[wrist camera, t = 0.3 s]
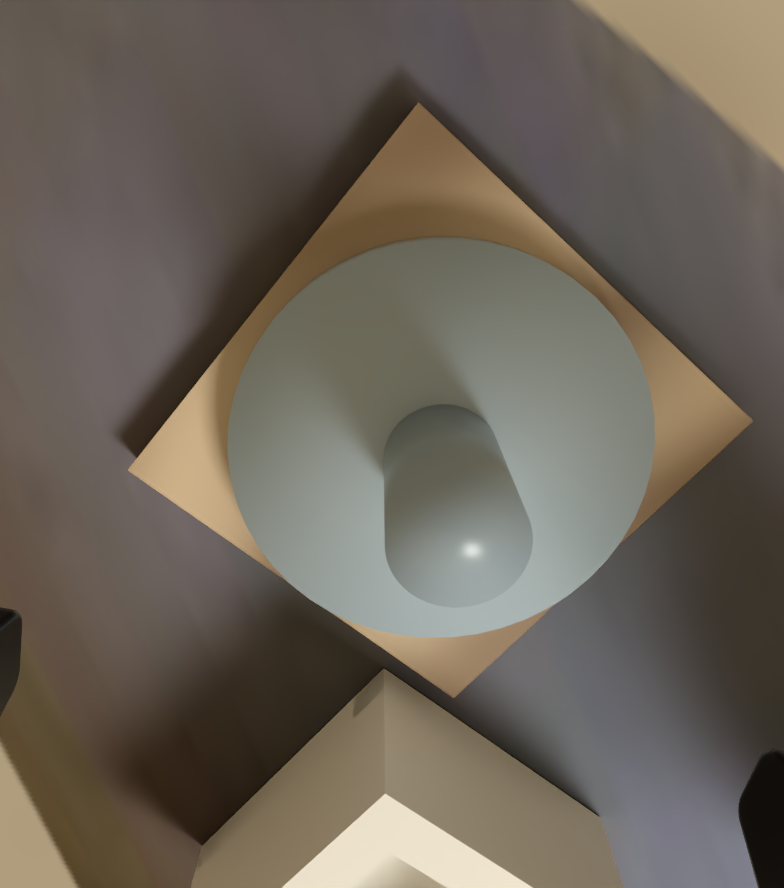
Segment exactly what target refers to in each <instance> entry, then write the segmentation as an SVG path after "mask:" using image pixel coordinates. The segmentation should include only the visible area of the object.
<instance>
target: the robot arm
mask: <svg viewBox="0 0 784 888" xmlns="http://www.w3.org/2000/svg"><path fill="white" fill-rule="evenodd" d="M21 635H22V619H21V615H20V614H19V613H18V612H17V611H16V610H12V609H7V608H1V607H0V716H1V714H2V712H3V710H4V708H5V706H6V704H7V702H8V700H9V699H10V697H11V695H12V693H13V691H14V688H15V686H16V683H17V680H18V676H19V670H20V653H21ZM738 811H739V820H740V824H741V828H742V831H743V835H744V838H745V842H746V846H747V849H748V853H749V857H750V860H751V864H752V867H753V871H754V875H755V878H756V882H757V886H758V888H784V751H781V750H776V749H771V750H767V751H766V752H764V753H763V754H762V755H761V757H760V759H759V761H758V763H757V765H756V767H755V769H754V771H753V773H752V775H751V777H750V779H749V781H748V783H747V785H746V787H745V789H744V791H743V793H742V795H741V797H740V801H739V810H738Z"/></svg>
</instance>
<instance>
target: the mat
mask: <svg viewBox="0 0 784 888" xmlns="http://www.w3.org/2000/svg"><path fill="white" fill-rule="evenodd" d="M425 236H461V237H469V238H477V239H485V240H489V241H493V242H496V243H500V244H504V245H508V246H512V247H514V248H517V249H519V250H522V251H524V252H526V253H529V254H531V255H533V256H536V257H538V258H540V259H542V260H544V261H545V262H547V263H549V264H550V265H552V266H554V267H555V268H557V269H559V270H560V271H562V272H564V273H565V274H567V275H568V276H570V277H572V278H573V279H574V280H576V281H577V282H578V283H579V284H580V285H582V286H583V287H584V288H585V289H587V290H588V291H589V292H590V293H592V294H593V295H594V296H595V297H596V298H597V299H598V300H599V301H600V302H601V303H602V304H603V305H604V306H605V308H606V309H607V310H608V311H609V312H610V313H611V314H612V315H613V316H614V317H615V319H616V320H617V322H618V323H619V325H620V326H621V328H622V329H623V331H624V332H625V333H626V335H627V336H628V338H629V339H630V341H631V343H632V345H633V347H634V349H635V351H636V353H637V355H638V357H639V359H640V362H641V364H642V366H643V369H644V372H645V376H646V379H647V382H648V385H649V388H650V392H651V398H652V405H653V411H654V419H655V446H654V454H653V462H652V469H651V473H650V477H649V481H648V484H647V488H646V492H645V495H644V497H643V500H642V502H641V505H640V507H639V509H638V512H637V514H636V517H635V519H634V520H633V522H632V524H631V526H630V527H629V529H628V531H627V533H626V534H625V536H624V538H623V540H622V541H621V542H620V543H619V545H620V544H621V543H622V542H623V541H624V540H625V539H626V538H627V537H628V536H630V535H631V534H632V533H633V532H634V531H635V530H636V529H637V528H638V527H639V526H640V525H641V524H643V523H644V522H645V521H646V520H647V519H648V518H649V517H650V516H651V515H652V514H653V513H654V512H655V511H657V510H658V509H659V508H660V507H661V506H662V505H663V504H664V503H665V502H666V501H667V500H668V499H670V498H671V497H672V496H673V495H674V494H675V493H676V492H677V491H678V490H679V489H680V488H681V487H682V486H684V485H685V484H686V483H687V482H688V481H689V480H690V479H691V478H692V477H693V476H694V475H695V474H697V473H698V472H699V471H700V470H701V469H702V468H703V467H704V466H705V465H706V464H707V463H708V462H710V461H711V460H712V459H713V458H714V457H715V456H716V455H717V454H718V453H719V452H720V451H721V450H722V449H724V448H725V447H726V446H727V445H728V444H729V443H730V442H731V441H732V440H733V439H734V438H735V437H737V436H738V435H739V434H740V433H741V432H742V431H743V430H744V429H745V428H746V427H747V426H748V425H749V424H751V423H752V422H753V420H752V419H751V418H750V417H749V416H748V415H747V414H746V413H744V412H743V411H742V410H741V409H740V408H739V407H738V406H737V405H736V404H735V403H734V402H733V401H732V400H731V399H730V398H729V397H728V396H727V395H726V394H725V393H723V392H722V391H721V390H720V389H719V388H718V387H717V386H716V385H715V384H714V383H713V382H712V381H711V380H710V379H709V378H708V377H707V376H706V375H705V374H703V373H702V372H701V371H700V370H699V369H698V368H697V367H696V366H695V365H694V364H693V363H692V362H691V361H690V360H689V359H688V358H687V357H686V356H685V355H684V354H682V353H681V352H680V351H679V350H678V349H677V348H676V347H675V346H674V345H673V344H672V343H671V342H670V341H669V340H668V339H667V338H666V337H665V336H664V335H663V334H661V333H660V332H659V331H658V330H657V329H656V328H655V327H654V326H653V325H652V324H651V323H650V322H649V321H648V320H647V319H646V318H645V317H644V316H643V315H641V314H640V313H639V312H638V311H637V310H636V309H635V308H634V307H633V306H632V305H631V304H630V303H629V302H628V301H627V300H626V299H625V298H624V297H623V296H622V295H620V294H619V293H618V292H617V291H616V290H615V289H614V288H613V287H612V286H611V285H610V284H609V283H608V282H607V281H606V280H605V279H604V278H603V277H602V276H601V275H599V274H598V273H597V272H596V271H595V270H594V269H593V268H592V267H591V266H590V265H589V264H588V263H587V262H586V261H585V260H584V259H583V258H582V257H581V256H579V255H578V254H577V253H576V252H575V251H574V250H573V249H572V248H571V247H570V246H569V245H568V244H567V243H566V242H565V241H564V240H563V239H562V238H561V237H560V236H558V235H557V234H556V233H555V232H554V231H553V230H552V229H551V228H550V227H549V226H548V225H547V224H546V223H545V222H544V221H543V220H542V219H541V218H540V217H538V216H537V215H536V214H535V213H534V212H533V211H532V210H531V209H530V208H529V207H528V206H527V205H526V204H525V203H524V202H523V201H522V200H521V199H520V198H519V197H517V196H516V195H515V194H514V193H513V192H512V191H511V190H510V189H509V188H508V187H507V186H506V185H505V184H504V183H503V182H502V181H501V180H500V179H499V178H498V177H496V176H495V175H494V174H493V173H492V172H491V171H490V170H489V169H488V168H487V167H486V166H485V165H484V164H483V163H482V162H481V161H480V160H479V159H478V158H476V157H475V156H474V155H473V154H472V153H471V152H470V151H469V150H468V149H467V148H466V147H465V146H464V145H463V144H462V143H461V142H460V141H459V140H458V139H457V138H455V137H454V136H453V135H452V134H451V133H450V132H449V131H448V130H447V129H446V128H445V127H444V126H443V125H442V124H441V123H440V122H439V121H438V120H437V119H436V118H434V117H433V116H432V115H431V114H430V113H429V112H428V111H427V110H426V109H425V108H424V107H423V106H422V105H421V104H420V103H419V102H418V103H417V105H416V106H415V107H414V108H413V110H412V111H411V112H410V114H409V115H408V116H407V117H406V119H405V120H404V121H403V122H402V124H401V125H400V126H399V127H398V129H397V130H396V131H395V133H394V134H393V135H392V136H391V138H390V139H389V140H388V141H387V143H386V144H385V145H384V146H383V148H382V149H381V150H380V152H379V153H378V154H377V155H376V157H375V158H374V159H373V160H372V162H371V163H370V164H369V165H368V167H367V168H366V169H365V170H364V172H363V173H362V174H361V176H360V177H359V178H358V179H357V181H356V182H355V183H354V184H353V186H352V187H351V188H350V189H349V191H348V192H347V193H346V195H345V196H344V197H343V198H342V200H341V201H340V202H339V203H338V205H337V206H336V207H335V208H334V210H333V211H332V212H331V213H330V215H329V216H328V217H327V219H326V220H325V221H324V222H323V224H322V225H321V226H320V227H319V229H318V230H317V231H316V232H315V234H314V235H313V236H312V238H311V239H310V240H309V241H308V243H307V244H306V245H305V246H304V248H303V249H302V250H301V251H300V253H299V254H298V255H297V257H296V258H295V259H294V260H293V262H292V263H291V264H290V265H289V267H288V268H287V269H286V270H285V272H284V273H283V274H282V275H281V277H280V278H279V279H278V281H277V282H276V283H275V284H274V286H273V287H272V288H271V289H270V291H269V292H268V293H267V294H266V296H265V297H264V298H263V300H262V301H261V302H260V303H259V305H258V306H257V307H256V308H255V310H254V311H253V312H252V313H251V315H250V316H249V317H248V319H247V320H246V321H245V322H244V324H243V325H242V326H241V327H240V329H239V330H238V331H237V332H236V334H235V335H234V336H233V337H232V339H231V340H230V341H229V343H228V344H227V345H226V346H225V348H224V349H223V350H222V351H221V353H220V354H219V355H218V356H217V358H216V359H215V360H214V362H213V363H212V364H211V365H210V367H209V368H208V369H207V370H206V372H205V373H204V374H203V375H202V377H201V378H200V379H199V381H198V382H197V383H196V384H195V386H194V387H193V388H192V389H191V391H190V392H189V393H188V394H187V396H186V397H185V398H184V399H183V401H182V402H181V403H180V405H179V406H178V407H177V408H176V410H175V411H174V412H173V413H172V415H171V416H170V417H169V418H168V420H167V421H166V422H165V424H164V425H163V426H162V427H161V429H160V430H159V431H158V432H157V434H156V435H155V436H154V437H153V439H152V440H151V441H150V443H149V444H148V445H147V446H146V448H145V449H144V450H143V451H142V453H141V454H140V455H139V456H138V458H137V459H136V460H135V461H134V463H133V464H132V465H131V467H130V468H129V469H128V471H130V472H131V473H132V474H134V475H135V476H137V477H138V478H140V479H141V480H142V481H144V482H145V483H147V484H148V485H150V486H151V487H152V488H154V489H155V490H157V491H158V492H160V493H161V494H162V495H164V496H165V497H167V498H168V499H170V500H171V501H172V502H174V503H175V504H177V505H178V506H180V507H181V508H182V509H184V510H185V511H187V512H188V513H190V514H191V515H192V516H194V517H195V518H197V519H198V520H200V521H201V522H202V523H204V524H205V525H207V526H208V527H210V528H211V529H213V530H214V531H215V532H217V533H218V534H220V535H221V536H223V537H224V538H225V539H227V540H228V541H230V542H231V543H233V544H234V545H235V546H237V547H238V548H240V549H241V550H243V551H244V552H245V553H247V554H248V555H250V556H251V557H253V558H254V559H255V560H257V561H258V562H260V563H261V564H263V565H264V566H265V567H267V568H268V569H270V570H271V571H273V572H274V573H275V574H277V575H278V576H280V577H281V578H283V579H284V580H285V581H287V580H286V579H285V578H284V577H283V576H282V575H281V574H280V573H279V572H278V571H277V570H276V569H275V568H274V567H273V566H272V565H271V563H270V562H269V561H268V559H267V558H266V557H265V555H264V554H263V553H262V551H261V550H260V549H259V547H258V546H257V544H256V542H255V540H254V539H253V537H252V535H251V533H250V532H249V530H248V528H247V526H246V524H245V522H244V520H243V517H242V515H241V512H240V509H239V507H238V504H237V502H236V499H235V494H234V490H233V486H232V482H231V478H230V471H229V461H228V451H227V449H228V425H229V419H230V413H231V408H232V403H233V397H234V394H235V391H236V389H237V386H238V383H239V380H240V377H241V374H242V371H243V369H244V367H245V365H246V363H247V361H248V359H249V357H250V355H251V353H252V351H253V349H254V347H255V346H256V344H257V342H258V341H259V339H260V338H261V336H262V335H263V334H264V332H265V331H266V329H267V328H268V326H269V325H270V323H271V322H272V321H273V319H274V318H275V316H276V315H277V314H278V313H279V312H280V310H281V309H282V308H283V307H284V306H285V305H286V304H287V303H288V302H289V301H290V300H291V299H292V297H293V296H294V295H295V294H296V293H298V292H299V291H300V290H301V289H302V288H304V287H305V286H306V285H307V284H309V283H310V282H311V281H312V280H313V279H315V278H316V277H317V276H318V275H320V274H322V273H323V272H325V271H327V270H328V269H330V268H331V267H333V266H335V265H336V264H338V263H340V262H341V261H343V260H345V259H347V258H350V257H352V256H354V255H356V254H359V253H361V252H363V251H366V250H368V249H371V248H374V247H377V246H381V245H384V244H388V243H391V242H395V241H399V240H405V239H412V238H419V237H425ZM619 545H618V546H619ZM618 546H617V547H618ZM617 547H616V548H617ZM287 582H288V581H287ZM288 583H289V582H288ZM554 605H555V604H554ZM554 605H552V606H551V607H549V608H548V609H546V610H544V611H542V612H540V613H538V614H535V615H533V616H531V617H529V618H527V619H525V620H523V621H520V622H517V623H514V624H512V625H509V626H506V627H503V628H500V629H496V630H492V631H488V632H483V633H479V634H474V635H466V636H458V637H443V638H423V637H412V636H402V635H397V634H392V633H387V632H382V631H377V630H374V629H371V628H368V627H365V626H362V625H359V624H356V623H353V622H351V621H348V620H346V619H344V618H342V617H340V616H338V615H336V616H337V617H338V618H340V619H341V620H343V621H344V622H346V623H347V624H348V625H350V626H351V627H353V628H354V629H356V630H357V631H358V632H360V633H361V634H363V635H364V636H366V637H367V638H368V639H370V640H371V641H373V642H374V643H376V644H377V645H378V646H380V647H381V648H383V649H384V650H386V651H387V652H388V653H390V654H391V655H393V656H394V657H396V658H397V659H398V660H400V661H401V662H403V663H404V664H406V665H407V666H408V667H410V668H411V669H413V670H414V671H416V672H417V673H418V674H420V675H421V676H423V677H424V678H426V679H427V680H429V681H430V682H431V683H433V684H434V685H436V686H437V687H439V688H440V689H441V690H443V691H444V692H446V693H447V694H449V695H450V696H451V697H453V698H455V697H456V696H457V695H458V694H459V693H460V692H461V691H462V690H463V689H464V688H465V687H466V686H467V685H469V684H470V683H471V682H472V681H473V680H474V679H475V678H476V677H477V676H478V675H479V674H480V673H482V672H483V671H484V670H485V669H486V668H487V667H488V666H489V665H490V664H491V663H492V662H493V661H494V660H496V659H497V658H498V657H499V656H500V655H501V654H502V653H503V652H504V651H505V650H506V649H507V648H509V647H510V646H511V645H512V644H513V643H514V642H515V641H516V640H517V639H518V638H519V637H520V636H521V635H523V634H524V633H525V632H526V631H527V630H528V629H529V628H530V627H531V626H532V625H533V624H534V623H536V622H537V621H538V620H539V619H540V618H541V617H542V616H543V615H544V614H545V613H546V612H547V611H549V610H550V609H551V608H552V607H553V606H554ZM334 615H335V614H334Z"/></svg>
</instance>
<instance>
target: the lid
mask: <svg viewBox="0 0 784 888" xmlns="http://www.w3.org/2000/svg"><path fill="white" fill-rule="evenodd" d="M654 446H655V419H654V411H653V405H652V398H651V392H650V388H649V385H648V382H647V379H646V376H645V372H644V369H643V366H642V364H641V362H640V359H639V357H638V355H637V353H636V351H635V349H634V347H633V345H632V343H631V341H630V339H629V338H628V336H627V335H626V333H625V332H624V331H623V329H622V328H621V326H620V325H619V323H618V322H617V320H616V319H615V317H614V316H613V315H612V314H611V313H610V312H609V311H608V310H607V309H606V308H605V306H604V305H603V304H602V303H601V302H600V301H599V300H598V299H597V298H596V297H595V296H594V295H593V294H592V293H590V292H589V291H588V290H587V289H585V288H584V287H583V286H582V285H580V284H579V283H578V282H577V281H576V280H574V279H573V278H572V277H570V276H568V275H567V274H565V273H564V272H562V271H560V270H559V269H557V268H555V267H554V266H552V265H550V264H549V263H547V262H545V261H544V260H542V259H540V258H538V257H536V256H533V255H531V254H529V253H526V252H524V251H522V250H519V249H517V248H514V247H512V246H508V245H504V244H500V243H496V242H493V241H489V240H485V239H477V238H469V237H461V236H425V237H419V238H412V239H405V240H399V241H395V242H391V243H388V244H384V245H381V246H377V247H374V248H371V249H368V250H366V251H363V252H361V253H359V254H356V255H354V256H352V257H350V258H347V259H345V260H343V261H341V262H340V263H338V264H336V265H335V266H333V267H331V268H330V269H328V270H327V271H325V272H323V273H322V274H320V275H318V276H317V277H316V278H315V279H313V280H312V281H311V282H310V283H309V284H307V285H306V286H305V287H304V288H302V289H301V290H300V291H299V292H298V293H296V294H295V295H294V296H293V297H292V299H291V300H290V301H289V302H288V303H287V304H286V305H285V306H284V307H283V308H282V309H281V310H280V312H279V313H278V314H277V315H276V316H275V318H274V319H273V321H272V322H271V323H270V325H269V326H268V328H267V329H266V331H265V332H264V334H263V335H262V336H261V338H260V339H259V341H258V342H257V344H256V346H255V347H254V349H253V351H252V353H251V355H250V357H249V359H248V361H247V363H246V365H245V367H244V369H243V371H242V374H241V377H240V380H239V383H238V386H237V389H236V391H235V394H234V397H233V403H232V408H231V413H230V419H229V425H228V449H227V451H228V461H229V471H230V478H231V482H232V486H233V490H234V494H235V499H236V502H237V504H238V507H239V509H240V512H241V515H242V517H243V520H244V522H245V524H246V526H247V528H248V530H249V532H250V533H251V535H252V537H253V539H254V540H255V542H256V544H257V546H258V547H259V549H260V550H261V551H262V553H263V554H264V555H265V557H266V558H267V559H268V561H269V562H270V563H271V565H272V566H273V567H274V568H275V569H276V570H277V571H278V572H279V573H280V574H281V575H282V576H283V577H284V578H285V579H286V580H287V581H288V582H289V583H290V584H291V585H292V586H293V587H295V588H296V589H297V590H298V591H300V592H301V593H302V594H303V595H305V596H306V597H307V598H308V599H310V600H311V601H313V602H315V603H316V604H318V605H320V606H321V607H323V608H324V609H326V610H328V611H329V612H331V613H333V614H335V615H338V616H340V617H342V618H344V619H346V620H348V621H351V622H353V623H356V624H359V625H362V626H365V627H368V628H371V629H374V630H377V631H382V632H387V633H392V634H397V635H402V636H412V637H423V638H443V637H458V636H466V635H474V634H479V633H483V632H488V631H492V630H496V629H500V628H503V627H506V626H509V625H512V624H514V623H517V622H520V621H523V620H525V619H527V618H529V617H531V616H533V615H535V614H538V613H540V612H542V611H544V610H546V609H548V608H549V607H551V606H552V605H554V604H556V603H557V602H559V601H560V600H562V599H563V598H565V597H566V596H568V595H570V594H571V593H572V592H573V591H574V590H576V589H577V588H578V587H579V586H581V585H582V584H583V583H584V582H585V581H587V580H588V579H589V578H590V577H591V576H592V575H593V574H594V573H595V572H596V571H597V570H598V569H599V568H600V567H601V566H602V565H603V564H604V563H605V562H606V561H607V559H608V558H609V557H610V555H611V554H612V553H613V551H614V550H615V549H616V547H617V546H618V545H619V543H620V542H621V541H622V540H623V538H624V536H625V534H626V533H627V531H628V529H629V527H630V526H631V524H632V522H633V520H634V519H635V517H636V514H637V512H638V509H639V507H640V505H641V502H642V500H643V497H644V495H645V492H646V488H647V484H648V481H649V477H650V473H651V469H652V462H653V454H654Z"/></svg>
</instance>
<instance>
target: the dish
mask: <svg viewBox="0 0 784 888" xmlns="http://www.w3.org/2000/svg"><path fill="white" fill-rule="evenodd" d="M191 888H624V886H623V883H622V880H621V877H620V874H619V871H618V868H617V865H616V862H615V859H614V856H613V853H612V850H611V847H610V844H609V841H608V839H607V836H606V833H605V830H604V827H603V824H602V821H601V818H600V817H599V816H597V815H596V814H594V813H593V812H591V811H590V810H589V809H587V808H586V807H584V806H583V805H581V804H580V803H578V802H577V801H575V800H574V799H573V798H571V797H570V796H568V795H567V794H565V793H564V792H562V791H561V790H560V789H558V788H557V787H555V786H554V785H552V784H551V783H549V782H548V781H547V780H545V779H544V778H542V777H541V776H539V775H538V774H536V773H535V772H534V771H532V770H531V769H529V768H528V767H526V766H525V765H523V764H522V763H520V762H519V761H518V760H516V759H515V758H513V757H512V756H510V755H509V754H507V753H506V752H505V751H503V750H502V749H500V748H499V747H497V746H496V745H494V744H493V743H492V742H490V741H489V740H487V739H486V738H484V737H483V736H481V735H480V734H479V733H477V732H476V731H474V730H473V729H471V728H470V727H468V726H467V725H465V724H464V723H463V722H461V721H460V720H458V719H457V718H455V717H454V716H452V715H451V714H450V713H448V712H447V711H445V710H444V709H442V708H441V707H439V706H438V705H437V704H435V703H434V702H432V701H431V700H429V699H428V698H426V697H425V696H424V695H422V694H421V693H419V692H418V691H416V690H415V689H413V688H412V687H410V686H409V685H408V684H406V683H405V682H403V681H402V680H400V679H399V678H397V677H396V676H395V675H393V674H392V673H390V672H389V671H387V670H386V669H383V670H382V671H381V672H380V673H379V674H378V675H376V676H375V677H374V678H373V679H372V680H371V681H370V682H369V683H368V684H367V685H366V686H365V687H364V688H363V689H362V690H361V691H360V692H359V693H358V694H357V695H356V696H355V697H354V698H353V699H352V700H351V701H350V702H349V703H348V704H347V705H346V706H345V707H344V708H343V709H342V710H341V711H340V712H339V713H338V714H337V715H336V716H335V717H334V718H332V719H331V720H330V721H329V722H328V723H327V724H326V725H325V726H324V727H323V728H322V729H321V730H320V731H319V732H318V733H317V734H316V735H315V736H314V737H313V738H312V739H311V740H310V741H309V742H308V743H307V744H306V745H305V746H304V747H303V748H302V749H301V750H300V751H299V752H298V753H297V754H296V755H295V756H294V757H293V758H292V759H291V760H290V761H289V762H287V763H286V764H285V765H284V766H283V767H282V768H281V769H280V770H279V771H278V772H277V773H276V774H275V775H274V776H273V777H272V778H271V779H270V780H269V781H268V782H267V783H266V784H265V785H264V786H263V787H262V788H261V789H260V790H259V791H258V792H257V793H256V794H255V795H254V796H253V797H252V798H251V799H250V800H249V801H248V802H247V803H246V804H245V805H243V806H242V807H241V808H240V809H239V810H238V811H237V812H236V813H235V814H234V815H233V816H232V817H231V818H230V819H229V820H228V821H227V822H226V823H225V824H224V825H223V826H222V827H221V828H220V829H219V830H218V831H217V832H216V833H215V834H214V835H213V836H212V837H211V838H210V839H209V840H208V841H207V842H206V843H205V844H204V845H203V846H202V847H201V850H200V854H199V858H198V862H197V866H196V870H195V874H194V878H193V882H192V885H191Z"/></svg>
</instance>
